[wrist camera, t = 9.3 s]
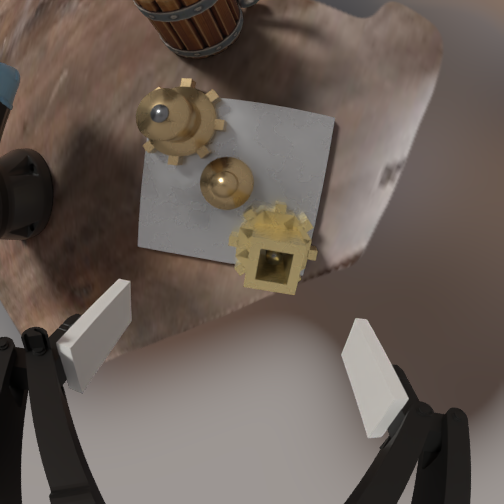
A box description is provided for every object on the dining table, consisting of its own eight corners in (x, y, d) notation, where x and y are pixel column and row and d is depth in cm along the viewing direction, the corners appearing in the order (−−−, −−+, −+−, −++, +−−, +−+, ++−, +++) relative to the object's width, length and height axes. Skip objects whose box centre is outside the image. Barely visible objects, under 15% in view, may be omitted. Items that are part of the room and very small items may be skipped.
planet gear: (225, 274, 37) (214, 304, 30) (237, 194, 34) (228, 204, 26) (304, 288, 37) (313, 320, 30) (323, 210, 34) (338, 224, 26)
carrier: (136, 243, 38) (102, 268, 29) (155, 83, 31) (122, 64, 22) (302, 272, 38) (311, 307, 29) (334, 106, 31) (357, 89, 22)
